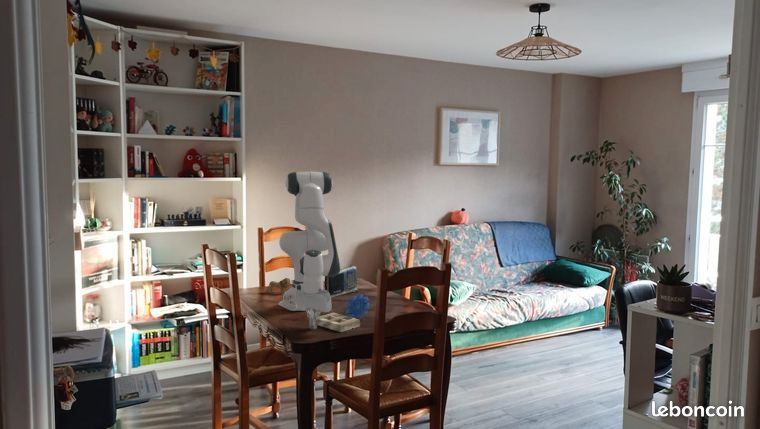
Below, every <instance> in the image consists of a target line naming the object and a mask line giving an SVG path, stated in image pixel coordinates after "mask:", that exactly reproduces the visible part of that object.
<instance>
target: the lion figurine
mask: <svg viewBox="0 0 760 429" xmlns="http://www.w3.org/2000/svg"><path fill="white" fill-rule="evenodd" d="M291 282H292V281H291V279H290V278H289V277H284V279H281V280H279V281H274V280H271V281H270V282H269V284H268V288H267V289H266V290H265V293H266V292H267V293H268V292H270V293H271V295H272V294H274V292H273V288H275V289H277V290H278V289H279V290H280V295H284V293H285V292H286V291H285V290H287V288H288V287H291V285H292V283H291ZM284 291H285V292H284Z"/></svg>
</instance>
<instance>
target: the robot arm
mask: <svg viewBox="0 0 760 429" xmlns="http://www.w3.org/2000/svg"><path fill="white" fill-rule="evenodd" d="M333 184H334V183H333V178H332V175H331V173H328V172H324V171H323V172H320V171H311V170H310V171H298V172H297V171H292V172H289V173H288V174H287V176H286V179H285V187H286V190H287V192H288V193H289V194H291V195H293V196H294V197H295V199H294V200H295V202H294V203H295V204H294V205H295V206H294V213H295V214H294V218H295V220H296V222H297V224H300V225H302V226H304V227H306V230H292V231H291V230H290V231H288V232H283V233H282V234H281V236H280V238H279V242H278V244H279V247H280V249H281V251H283V253H285V254H286V255H287V256H288V257H289V258H290V259H291V261H292V265H293V272H294V276H293V278H294V279H293V280H291V281H290V282H291V286H290V288H289V289H288V290H287V289H286V291H285V293H284V294H283V296H282V301H279V302H278V303H277V305H278V306H280V307H282V308H284V309H286V310H288V311H292V312H293V311H294V312H296V311H303V312H305V311H306V315H307V318H310V308H311V309H315V310H316V312H317V313H316V315H314V319H316V320H318V319H319V317H320V316H321V313H322V312H323V313H328V312H331V311H332V308H333V307H332V298H331V297H330V294H329V292H328V291H326V290H325V289H324V277H325V276H328V277H334V276H336V275H337V274H338V273H339V272H340V269H342V265H341V264H342V263H341V260H340V257H339V254H338V248H337V243H336V238H335V232H334V228H333V224H332V221H331V220H330V219H328V218H327V216H326V215H325V214H326V213H325V210H324V208H325V207H324V206H325V204H324V195H327V194H329V193H330V192H331V191H332V188H333ZM325 251H327V252H328V254H322V252H325Z"/></svg>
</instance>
